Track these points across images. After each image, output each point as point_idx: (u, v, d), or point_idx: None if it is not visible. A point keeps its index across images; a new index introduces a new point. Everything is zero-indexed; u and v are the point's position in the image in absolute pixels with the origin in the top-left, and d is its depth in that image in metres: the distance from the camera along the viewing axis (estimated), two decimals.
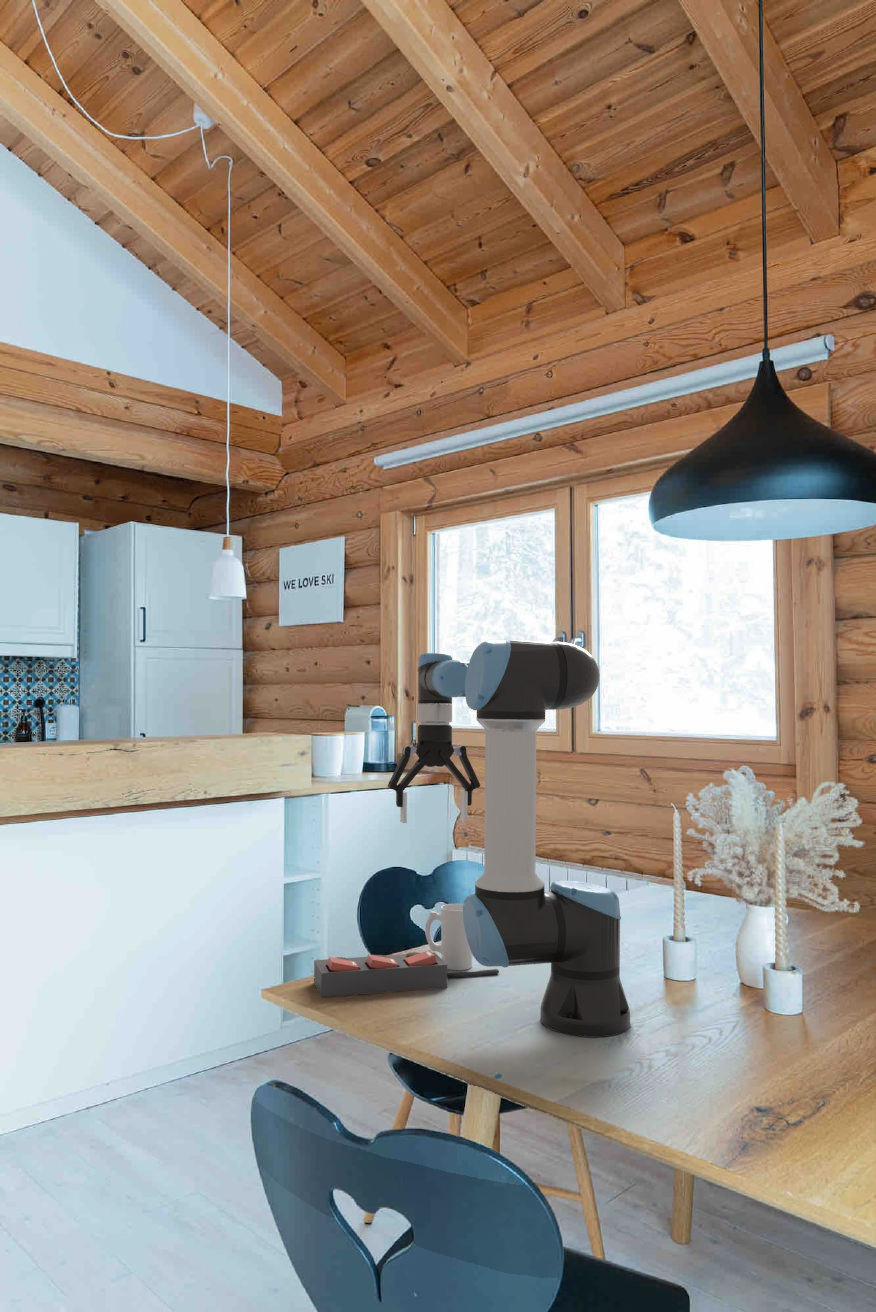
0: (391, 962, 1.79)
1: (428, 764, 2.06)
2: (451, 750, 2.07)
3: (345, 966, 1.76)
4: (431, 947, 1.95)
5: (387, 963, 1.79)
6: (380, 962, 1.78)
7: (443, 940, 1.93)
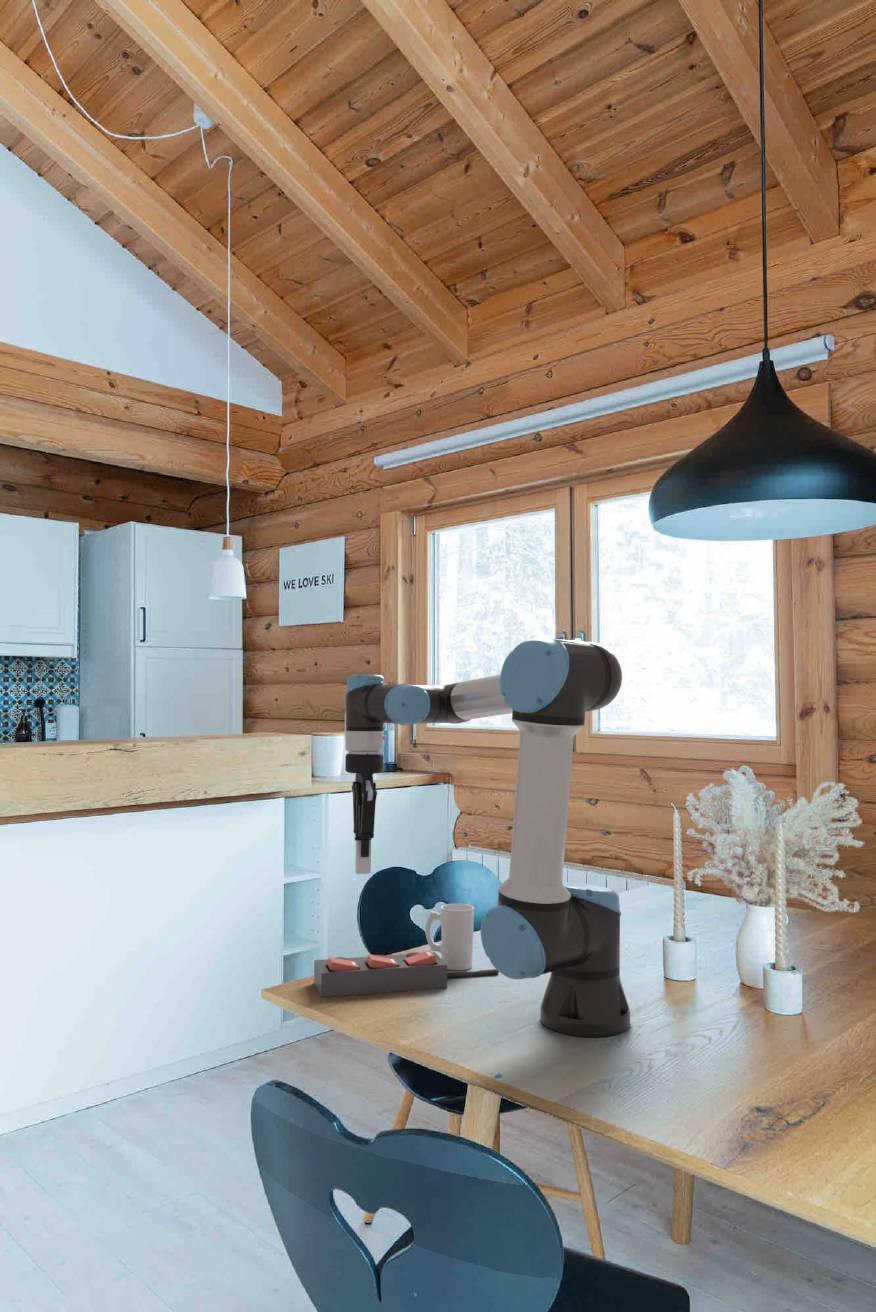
0: (391, 962, 1.79)
1: None
2: (362, 783, 1.84)
3: (345, 966, 1.76)
4: (431, 947, 1.95)
5: (387, 963, 1.79)
6: (380, 962, 1.78)
7: (443, 940, 1.93)
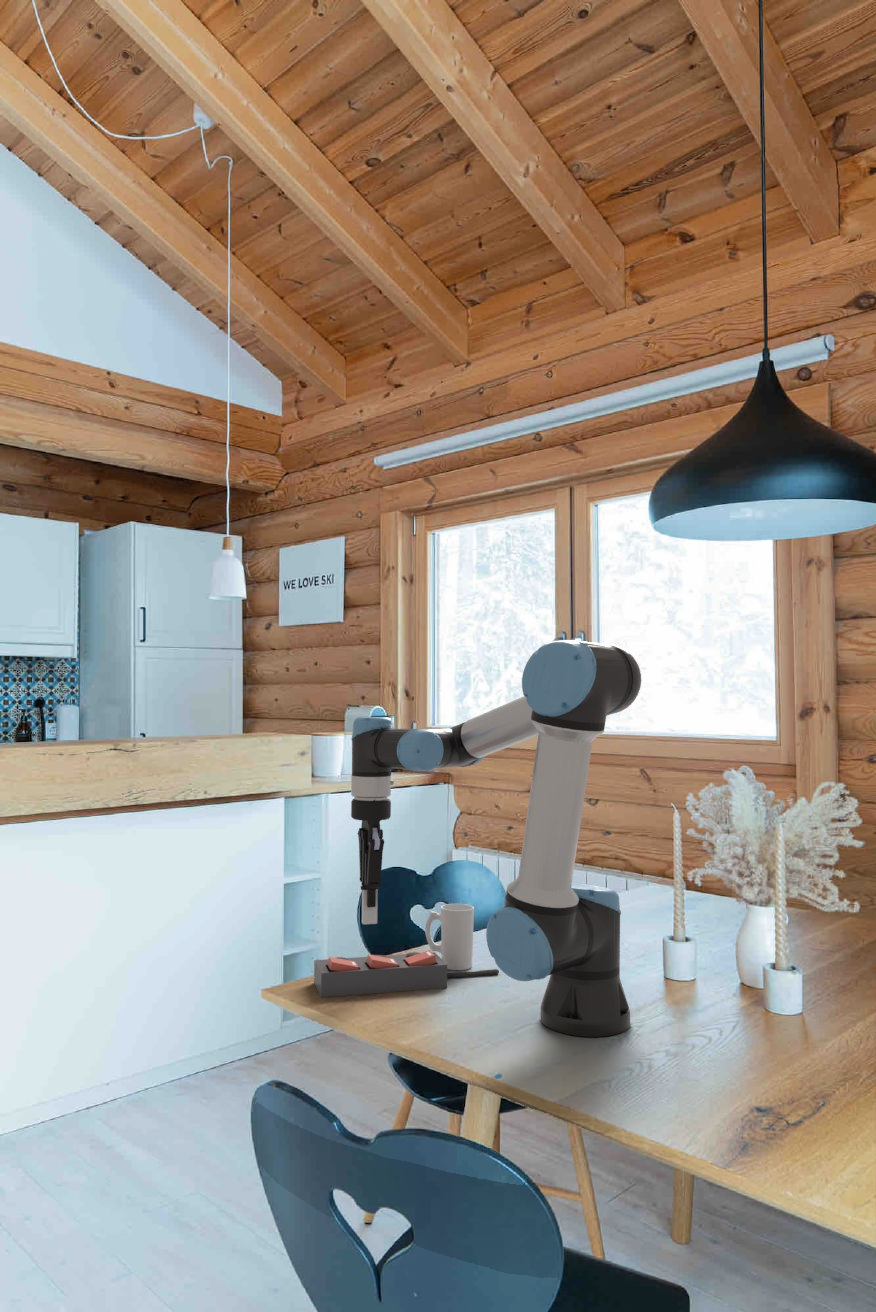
0: (391, 962, 1.79)
1: None
2: (368, 831, 1.77)
3: (345, 966, 1.76)
4: (431, 947, 1.95)
5: (387, 963, 1.79)
6: (380, 962, 1.78)
7: (443, 940, 1.93)
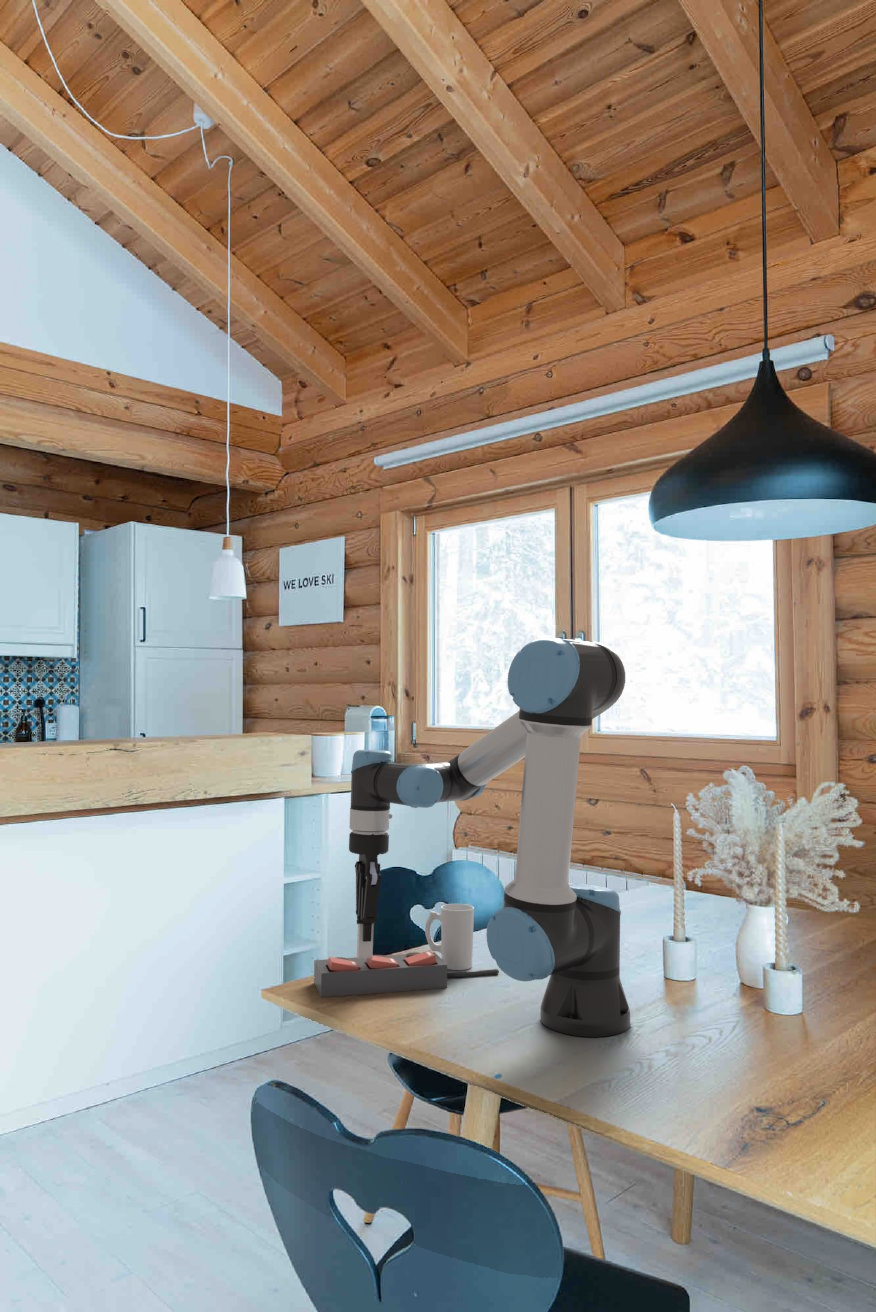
0: (391, 962, 1.79)
1: None
2: (366, 865, 1.77)
3: (345, 966, 1.76)
4: (431, 947, 1.95)
5: (387, 963, 1.79)
6: (380, 962, 1.78)
7: (443, 940, 1.93)
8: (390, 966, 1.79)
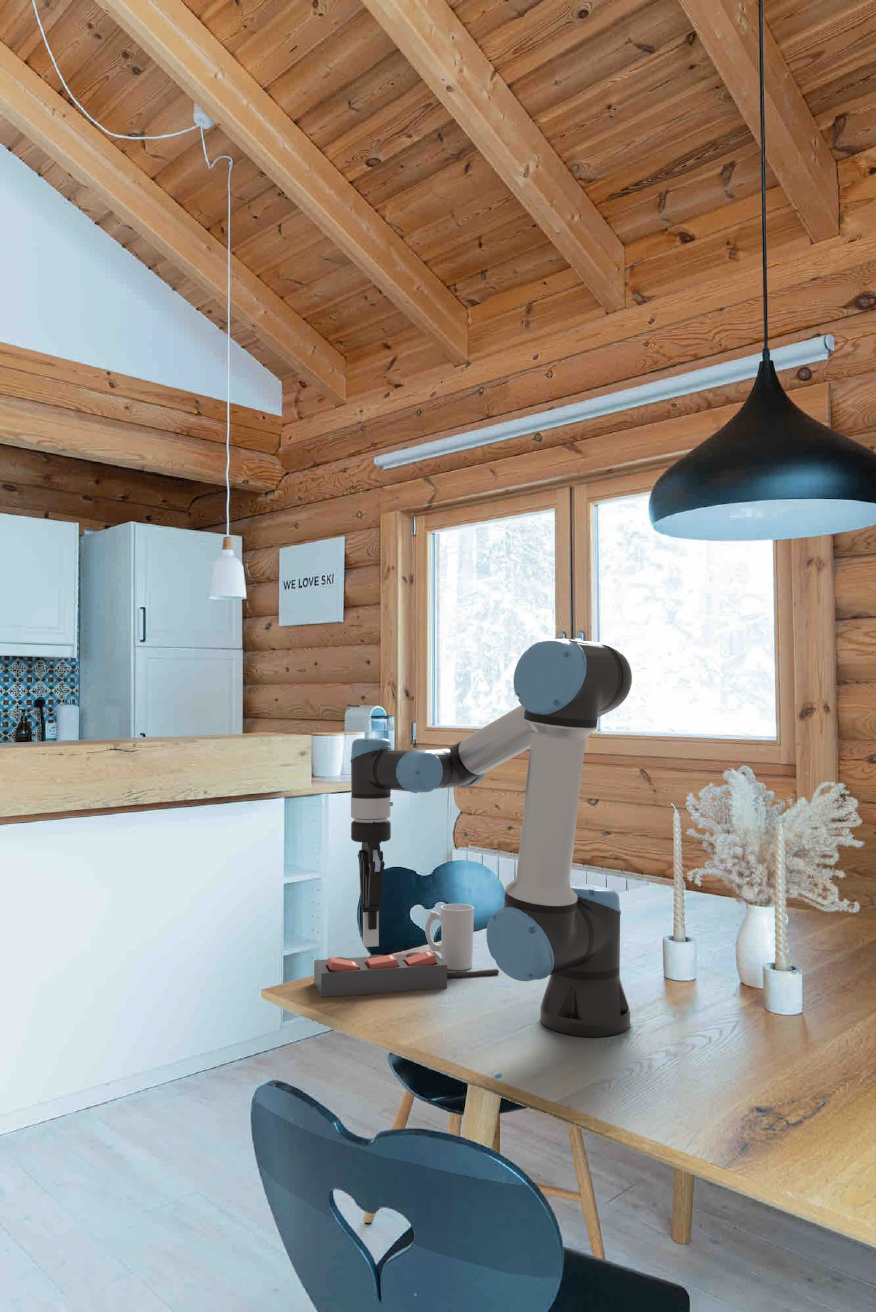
0: (390, 959, 1.79)
1: None
2: (369, 853, 1.77)
3: (345, 966, 1.76)
4: (431, 947, 1.95)
5: (386, 962, 1.79)
6: (379, 964, 1.78)
7: (443, 940, 1.93)
8: (390, 964, 1.79)
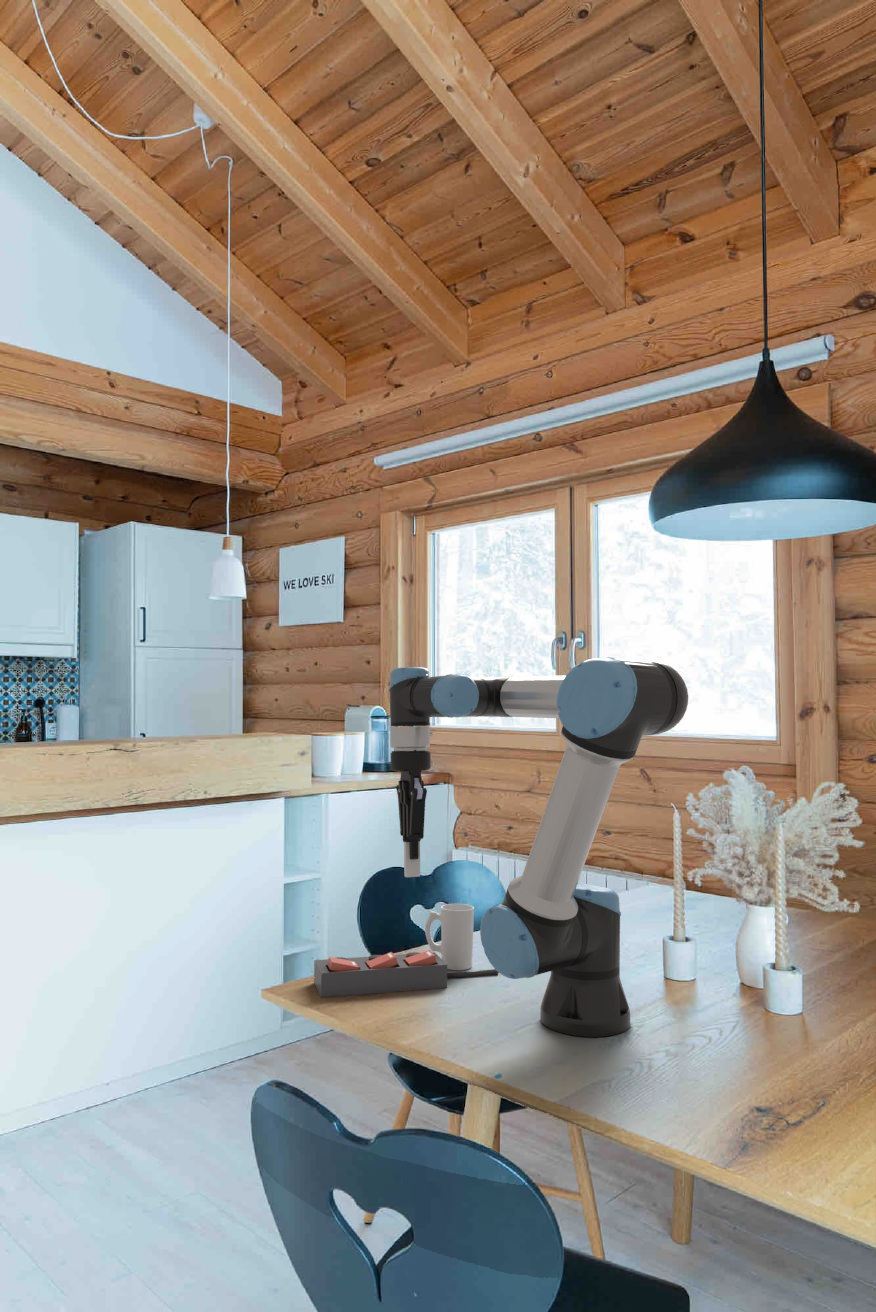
0: (389, 958, 1.79)
1: None
2: (410, 781, 1.75)
3: (345, 966, 1.76)
4: (431, 947, 1.95)
5: (386, 962, 1.79)
6: (379, 965, 1.78)
7: (443, 940, 1.93)
8: (390, 963, 1.79)
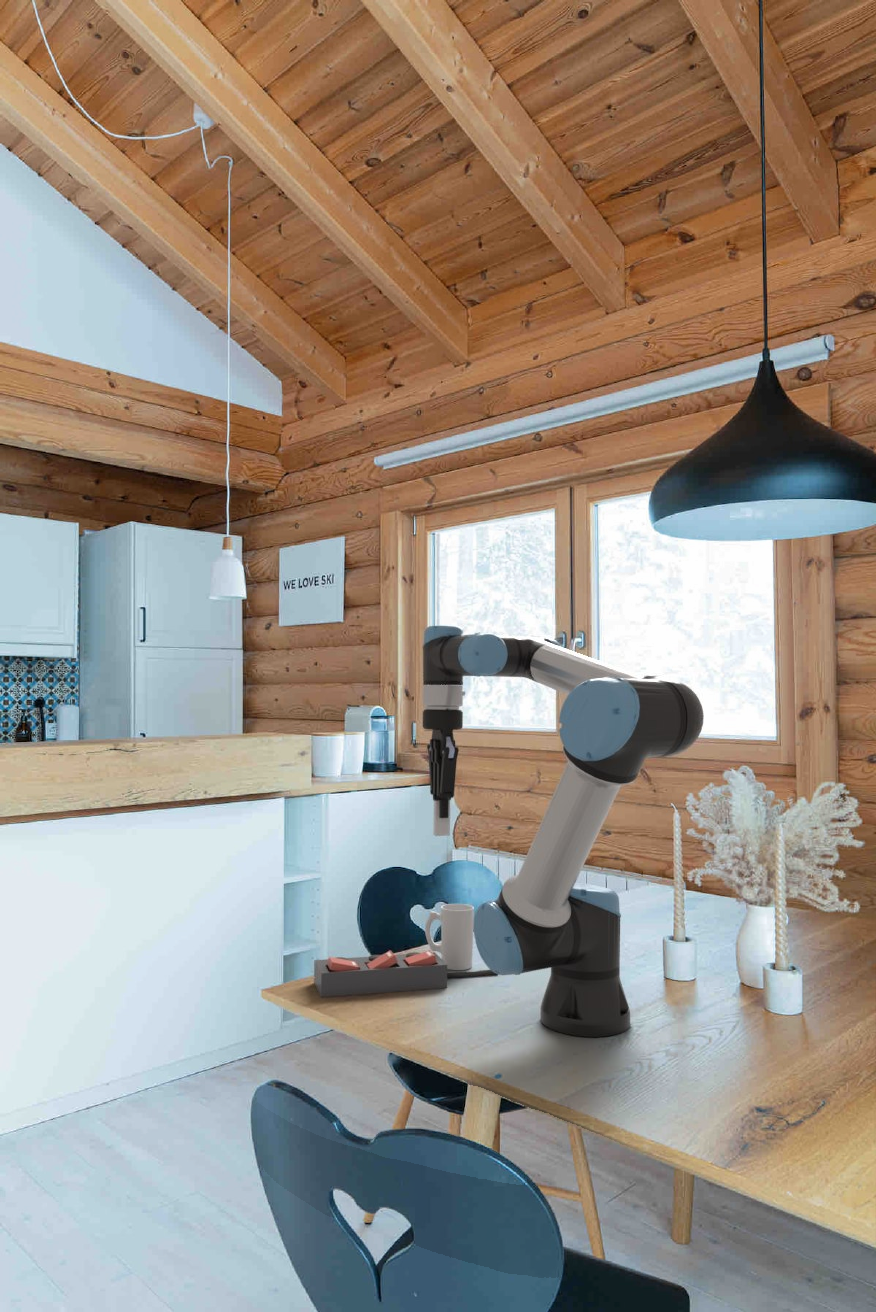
0: (388, 957, 1.79)
1: None
2: (442, 740, 1.74)
3: (345, 966, 1.76)
4: (431, 947, 1.95)
5: (385, 961, 1.79)
6: (379, 966, 1.78)
7: (443, 940, 1.93)
8: (389, 962, 1.79)
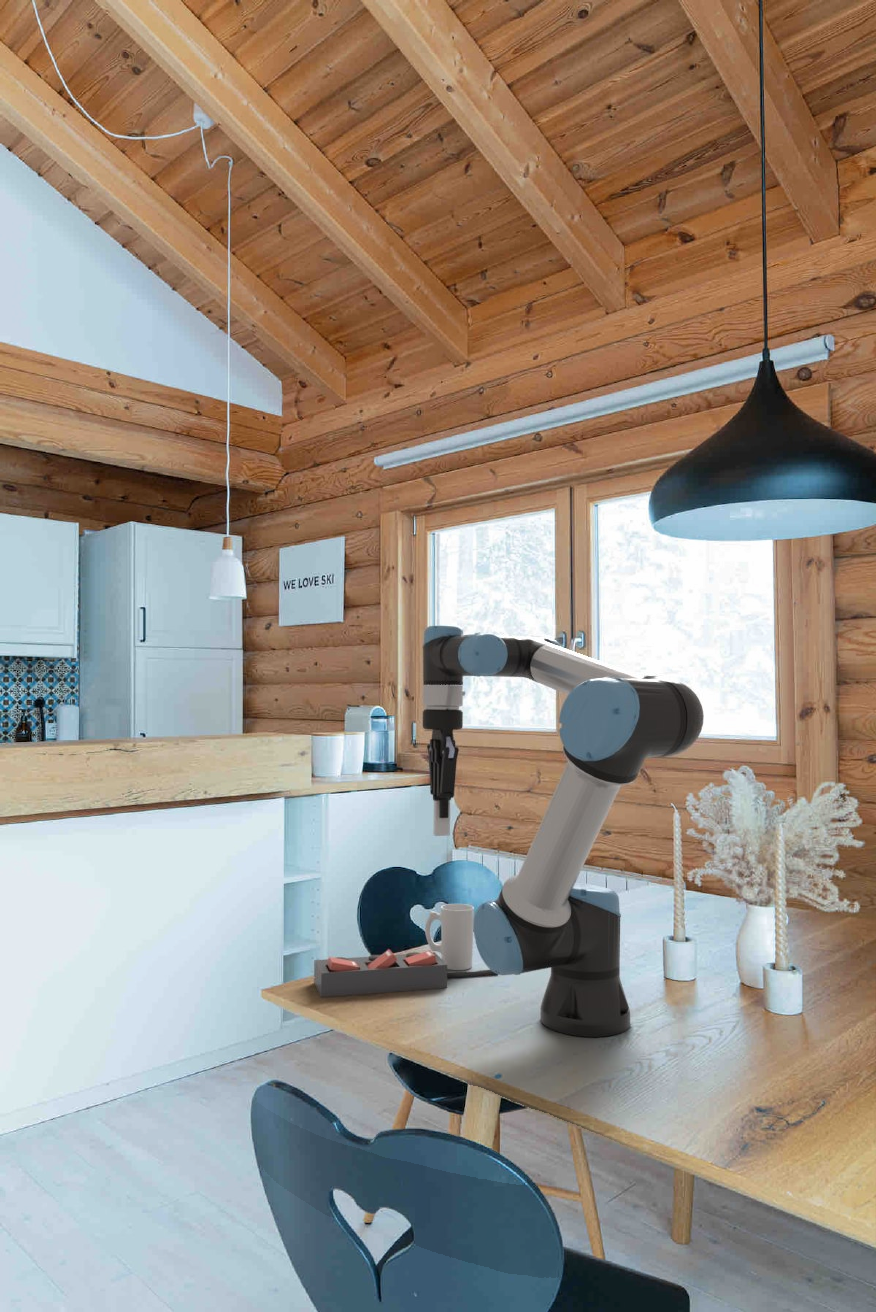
0: (387, 957, 1.79)
1: None
2: (442, 740, 1.74)
3: (345, 966, 1.76)
4: (431, 947, 1.95)
5: (385, 961, 1.79)
6: (379, 966, 1.78)
7: (443, 940, 1.93)
8: (389, 961, 1.79)
